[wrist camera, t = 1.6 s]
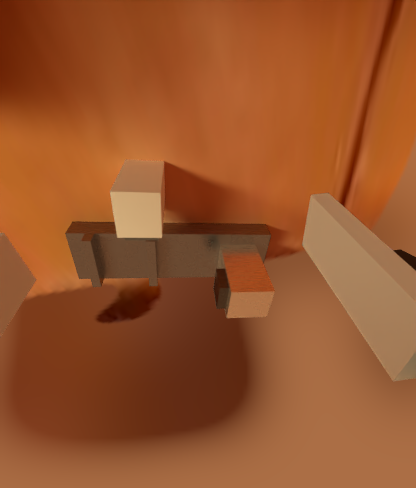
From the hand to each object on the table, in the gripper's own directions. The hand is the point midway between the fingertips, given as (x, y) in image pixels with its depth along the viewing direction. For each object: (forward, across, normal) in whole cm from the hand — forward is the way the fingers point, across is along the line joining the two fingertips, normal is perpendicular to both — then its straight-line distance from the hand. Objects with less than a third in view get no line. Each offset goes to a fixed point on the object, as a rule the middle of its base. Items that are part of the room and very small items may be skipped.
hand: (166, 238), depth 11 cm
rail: (+18, -2, -14) cm, 23 cm away
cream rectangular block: (+18, -4, -4) cm, 19 cm away
